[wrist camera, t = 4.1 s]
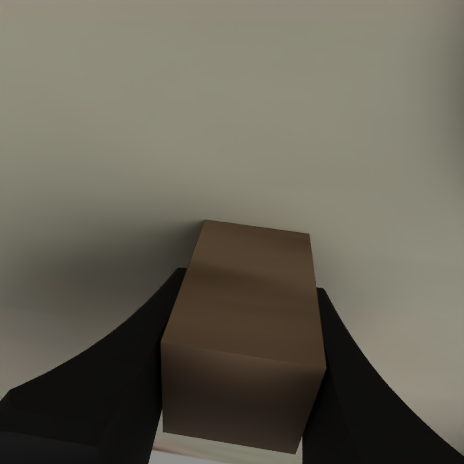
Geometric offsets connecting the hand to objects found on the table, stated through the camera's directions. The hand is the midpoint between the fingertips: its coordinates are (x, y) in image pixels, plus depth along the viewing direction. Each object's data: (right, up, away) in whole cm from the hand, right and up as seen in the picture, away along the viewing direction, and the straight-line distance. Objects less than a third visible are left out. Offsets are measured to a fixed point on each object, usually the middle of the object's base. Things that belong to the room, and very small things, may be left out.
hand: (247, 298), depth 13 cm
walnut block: (0, +1, +2) cm, 2 cm away
